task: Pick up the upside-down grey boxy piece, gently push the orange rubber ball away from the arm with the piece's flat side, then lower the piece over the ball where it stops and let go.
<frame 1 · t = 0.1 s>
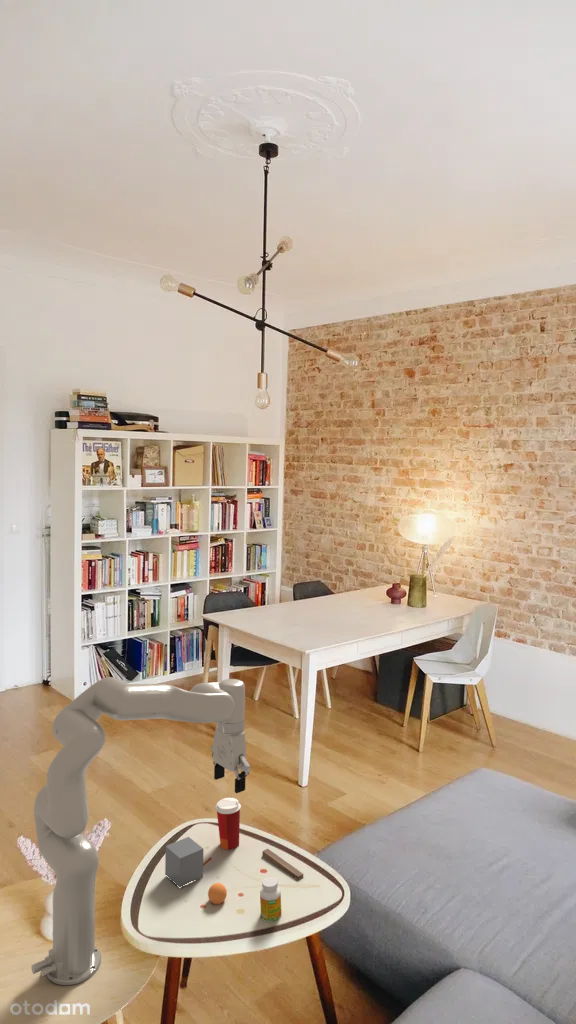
hand: (229, 784, 189), 29 cm above the table, tool pointing down, fingers open, 9 cm apart
grey boxy piece: (183, 876, 193), on the table
supplement bottle: (271, 917, 178), on the table
ball: (217, 893, 183), on the table
stopper: (282, 870, 198), on the table
paper cup: (229, 847, 209), on the table
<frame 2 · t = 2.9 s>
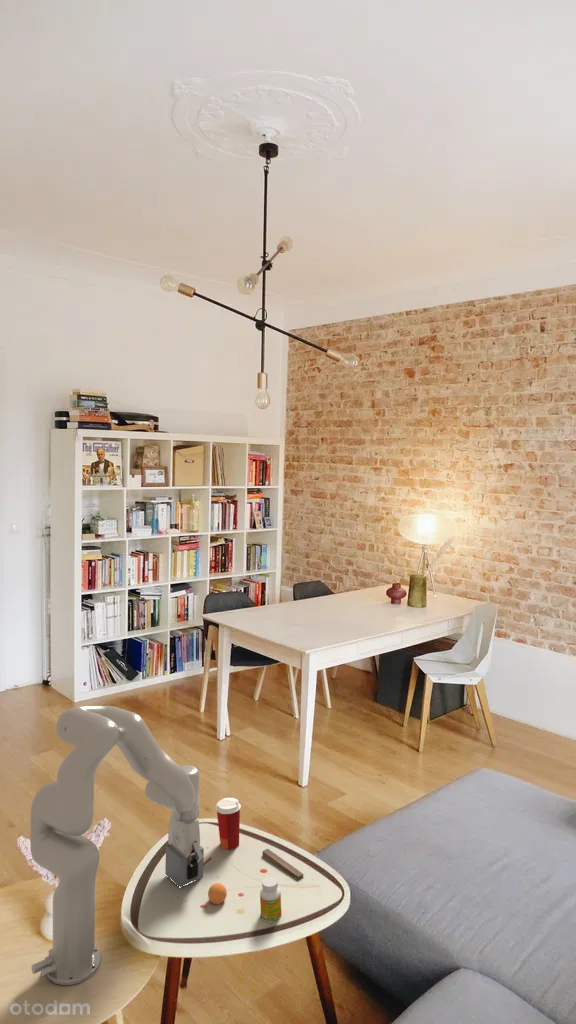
hand: (184, 870, 193), 2 cm above the table, tool pointing down, fingers closed on grey boxy piece, 7 cm apart
grey boxy piece: (184, 876, 194), on the table, touching gripper
everything else where it was.
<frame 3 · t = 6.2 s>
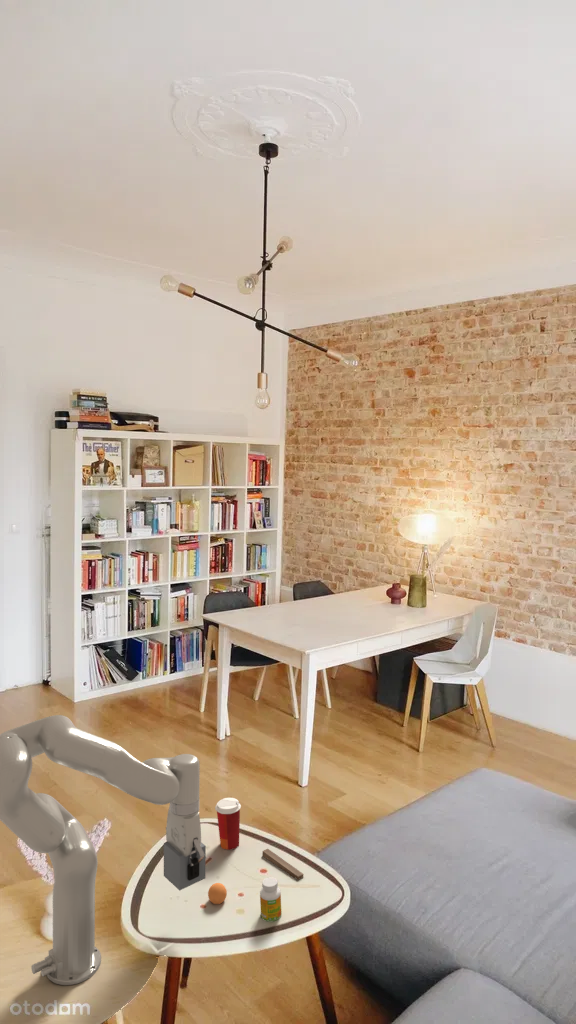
hand: (184, 869, 175), 13 cm above the table, tool pointing down, fingers closed on grey boxy piece, 7 cm apart
grey boxy piece: (184, 877, 175), point 11 cm above the table, touching gripper
everything else where it was.
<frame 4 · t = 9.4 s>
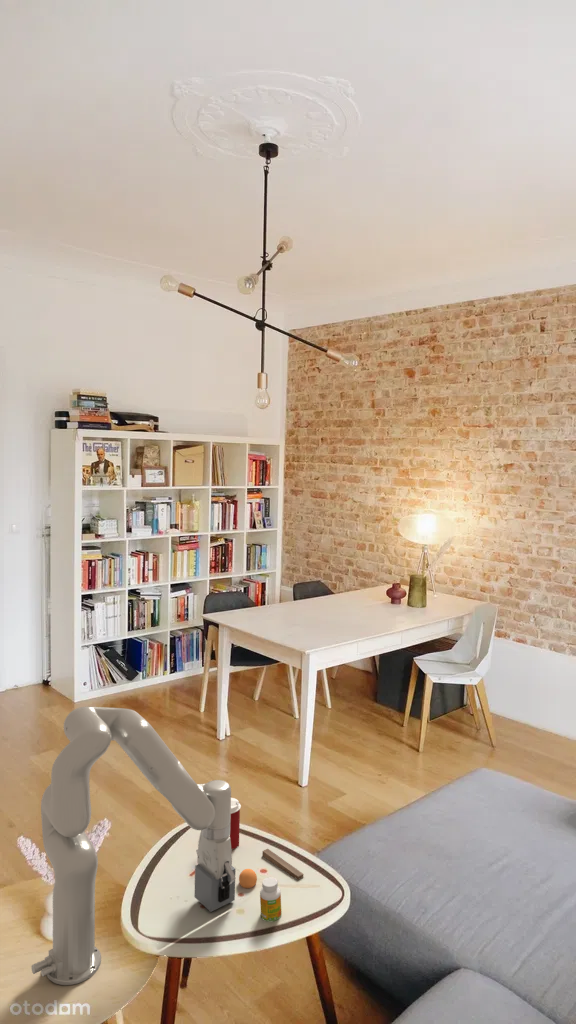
hand: (214, 891, 182), 3 cm above the table, tool pointing down, fingers closed on grey boxy piece, 7 cm apart
grey boxy piece: (214, 898, 182), point 1 cm above the table, touching gripper
ball: (247, 878, 189), on the table
everything else where it was.
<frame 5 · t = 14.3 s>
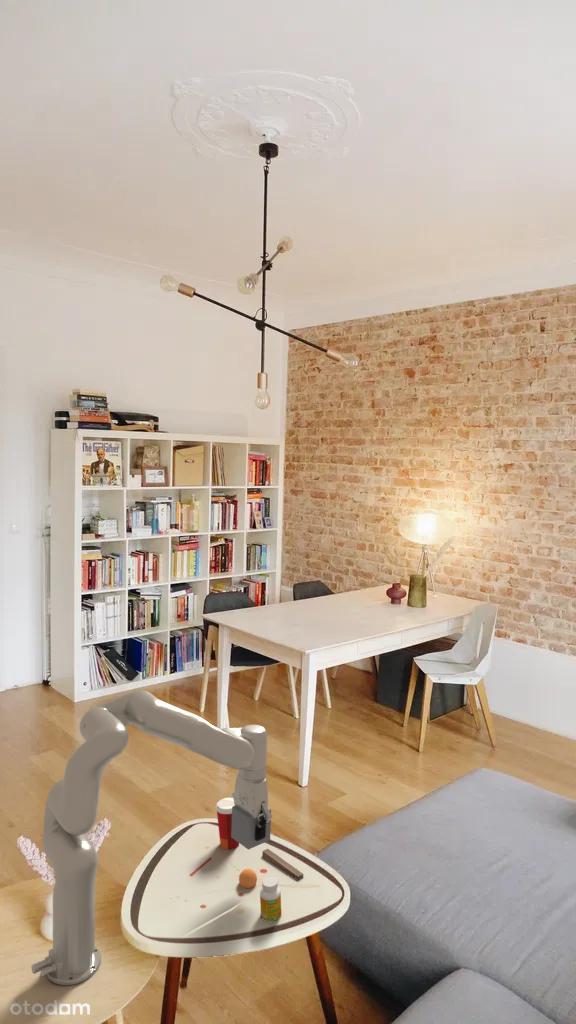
hand: (250, 832, 189), 16 cm above the table, tool pointing down, fingers closed on grey boxy piece, 7 cm apart
grey boxy piece: (250, 838, 189), point 14 cm above the table, touching gripper
everything else where it was.
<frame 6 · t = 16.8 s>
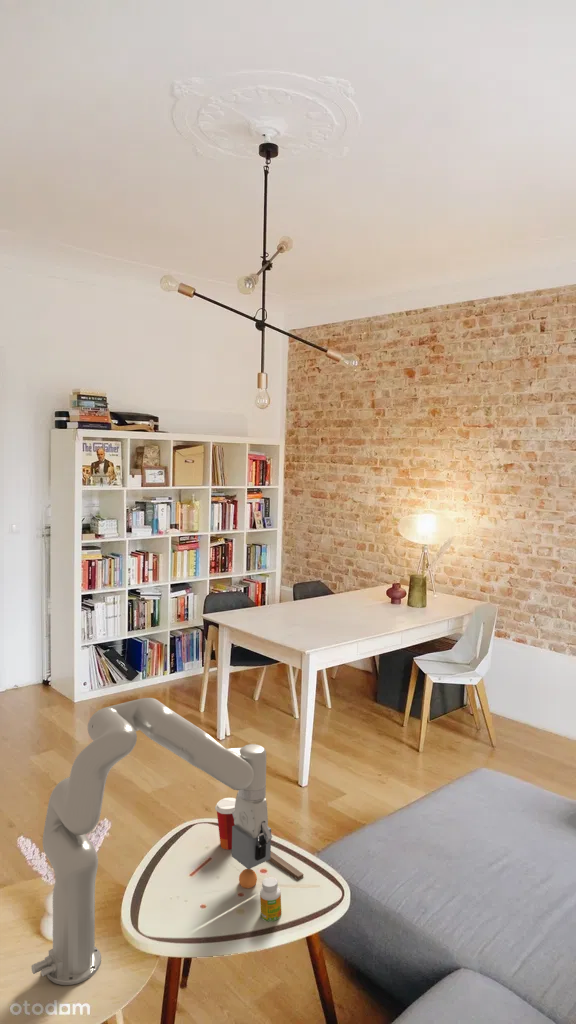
hand: (251, 851, 189), 10 cm above the table, tool pointing down, fingers closed on grey boxy piece, 7 cm apart
grey boxy piece: (251, 857, 190), point 8 cm above the table, touching gripper
everything else where it was.
when the fingers open (2 cm above the table, at t = 18.7 s): grey boxy piece stays where it is, on the table.
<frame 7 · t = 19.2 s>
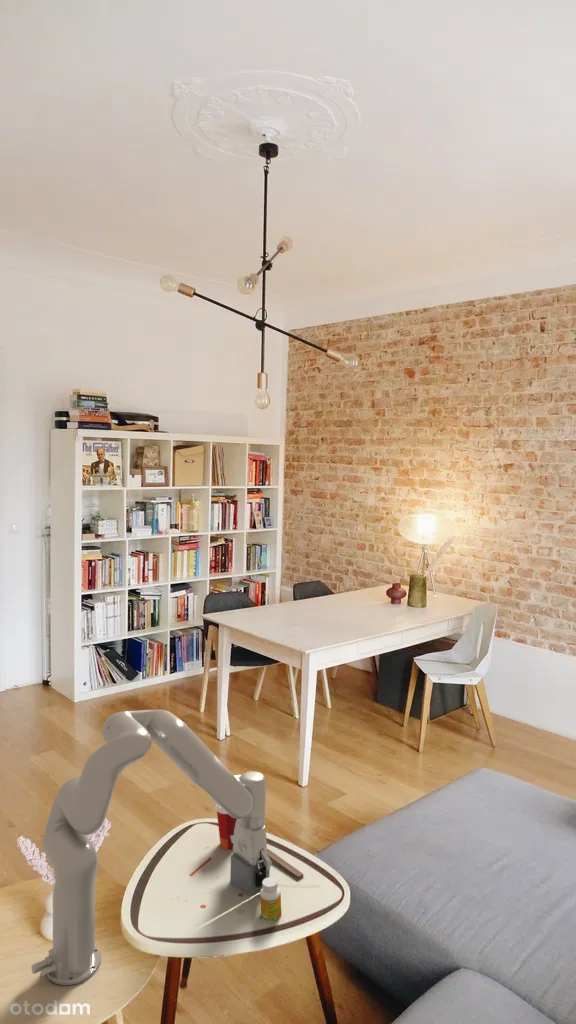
hand: (249, 876, 190), 3 cm above the table, tool pointing down, fingers open, 9 cm apart
grey boxy piece: (249, 886, 190), on the table
everything else where it was.
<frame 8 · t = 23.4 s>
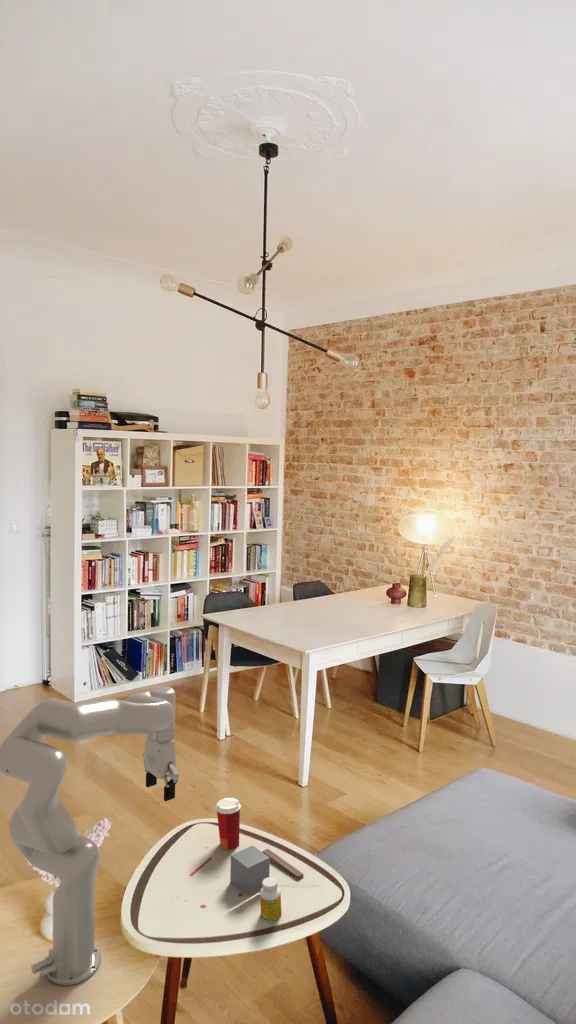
hand: (160, 792, 188), 26 cm above the table, tool pointing down, fingers open, 9 cm apart
nothing on the table moved.
at the end: ball 0.6 cm from the grey boxy piece (horizontally); grey boxy piece on the table; ball moved 10.4 cm from its start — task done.
